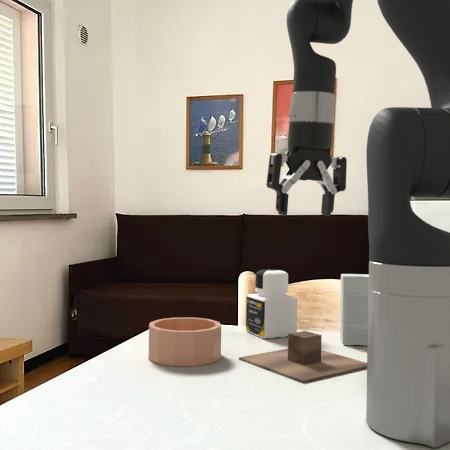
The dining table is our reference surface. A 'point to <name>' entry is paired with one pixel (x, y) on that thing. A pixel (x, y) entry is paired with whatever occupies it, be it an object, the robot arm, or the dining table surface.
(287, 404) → the dining table surface
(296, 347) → the walnut lid
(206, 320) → the terracotta bowl
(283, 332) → the medicine bottle
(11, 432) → the dining table surface
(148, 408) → the dining table surface
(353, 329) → the skincare box
